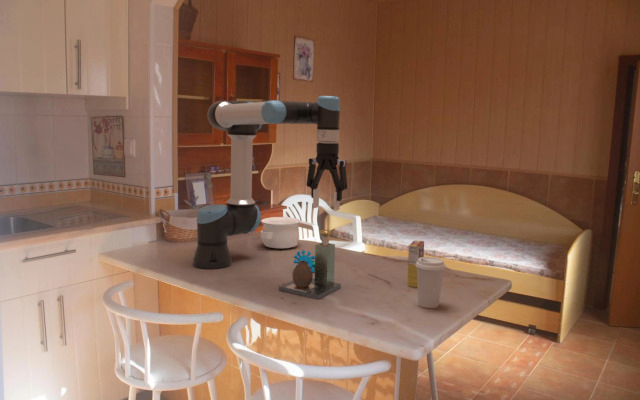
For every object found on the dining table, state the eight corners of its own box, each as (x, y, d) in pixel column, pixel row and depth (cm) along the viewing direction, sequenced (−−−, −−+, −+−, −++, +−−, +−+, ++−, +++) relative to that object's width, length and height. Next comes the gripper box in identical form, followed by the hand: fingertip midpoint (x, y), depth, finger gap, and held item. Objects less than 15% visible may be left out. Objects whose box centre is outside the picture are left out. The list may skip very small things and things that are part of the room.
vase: (305, 290, 184) (305, 265, 183) (288, 286, 188) (288, 261, 187) (316, 285, 190) (316, 260, 189) (299, 281, 194) (300, 257, 192)
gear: (297, 271, 207) (292, 248, 213) (291, 279, 211) (287, 256, 217) (323, 272, 212) (318, 250, 218) (317, 279, 216) (312, 258, 222)
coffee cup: (410, 299, 183) (412, 256, 181) (438, 299, 184) (440, 256, 181) (417, 310, 174) (420, 264, 171) (447, 309, 174) (450, 264, 172)
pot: (278, 254, 238) (278, 226, 236) (249, 247, 248) (249, 221, 246) (310, 245, 255) (310, 219, 253) (282, 239, 266) (282, 215, 264)
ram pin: (317, 261, 192) (318, 231, 190) (322, 259, 195) (323, 229, 193) (326, 263, 190) (327, 232, 188) (332, 260, 193) (333, 230, 192)
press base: (278, 290, 189) (279, 246, 187) (302, 279, 202) (303, 238, 200) (318, 299, 181) (319, 253, 179) (340, 287, 194) (341, 244, 192)
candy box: (411, 279, 206) (413, 239, 203) (423, 281, 204) (425, 241, 202) (406, 286, 198) (408, 244, 195) (418, 287, 196) (420, 246, 194)
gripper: (296, 141, 188) (295, 207, 192) (349, 144, 178) (347, 213, 181) (308, 140, 194) (306, 204, 198) (359, 143, 184) (357, 210, 188)
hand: (326, 208), depth 190 cm, fingers open, 8 cm apart
